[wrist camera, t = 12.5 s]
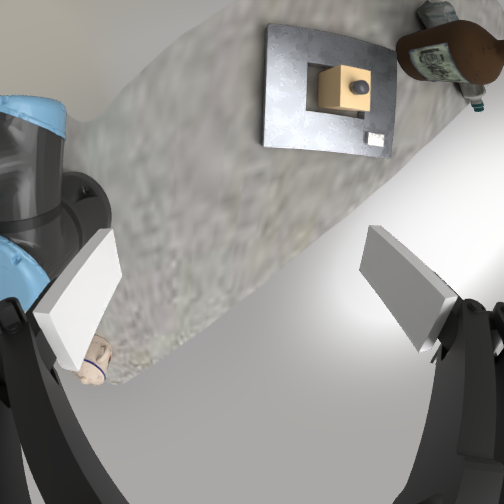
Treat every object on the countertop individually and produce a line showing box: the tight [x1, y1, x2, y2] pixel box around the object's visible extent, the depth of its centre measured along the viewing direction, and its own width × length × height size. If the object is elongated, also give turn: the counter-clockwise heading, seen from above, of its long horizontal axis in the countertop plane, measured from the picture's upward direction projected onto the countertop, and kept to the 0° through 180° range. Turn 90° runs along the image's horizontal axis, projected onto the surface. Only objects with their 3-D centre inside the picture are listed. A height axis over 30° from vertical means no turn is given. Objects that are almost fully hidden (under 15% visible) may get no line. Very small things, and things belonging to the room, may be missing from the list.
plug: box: [318, 65, 371, 111], centre depth 33 cm, size 4×6×11 cm
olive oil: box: [396, 20, 504, 85], centre depth 23 cm, size 11×11×25 cm
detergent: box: [418, 0, 486, 112], centre depth 30 cm, size 13×7×25 cm
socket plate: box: [262, 24, 397, 159], centre depth 36 cm, size 22×20×4 cm
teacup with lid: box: [72, 335, 112, 385], centre depth 52 cm, size 12×9×12 cm
